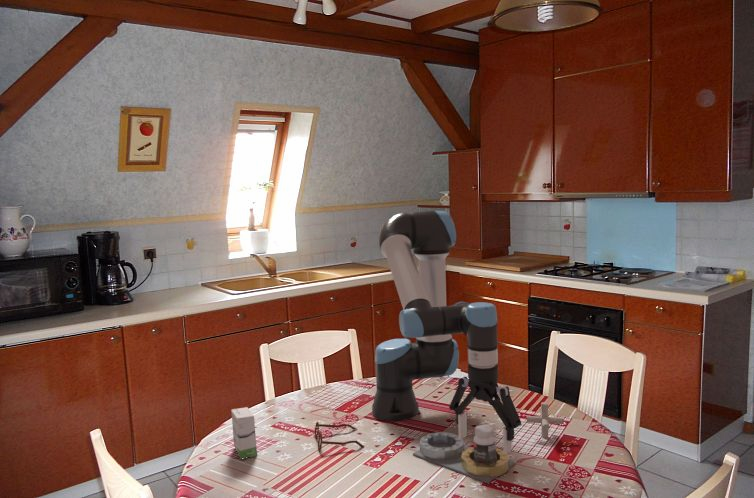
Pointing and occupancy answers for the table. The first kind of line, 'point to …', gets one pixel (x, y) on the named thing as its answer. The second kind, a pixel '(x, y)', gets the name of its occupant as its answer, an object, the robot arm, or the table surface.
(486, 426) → the pill bottle
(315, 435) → the glasses
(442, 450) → the grey socket
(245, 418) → the ink box
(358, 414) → the table surface
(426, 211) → the robot arm
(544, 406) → the pipe connector
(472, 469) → the brass socket
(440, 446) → the slate board
